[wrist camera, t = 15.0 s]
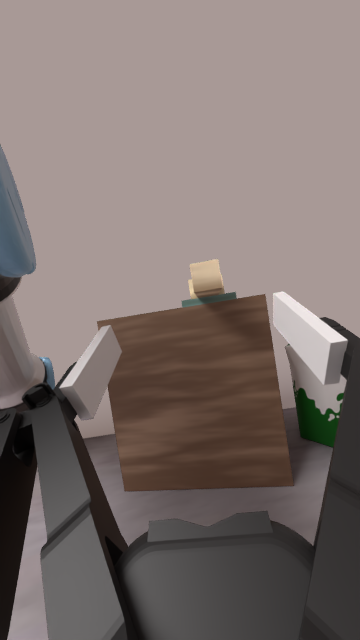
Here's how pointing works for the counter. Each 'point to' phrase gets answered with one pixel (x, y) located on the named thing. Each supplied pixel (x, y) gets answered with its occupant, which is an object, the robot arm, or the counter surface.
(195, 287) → the oak bar
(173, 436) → the walnut shelf
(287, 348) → the milk carton
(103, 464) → the counter surface
